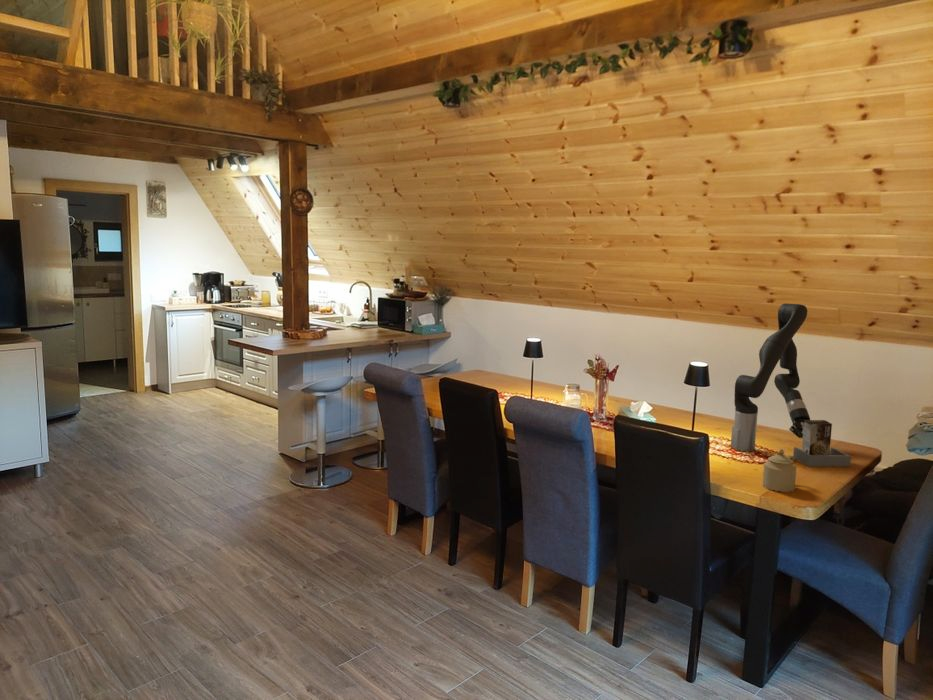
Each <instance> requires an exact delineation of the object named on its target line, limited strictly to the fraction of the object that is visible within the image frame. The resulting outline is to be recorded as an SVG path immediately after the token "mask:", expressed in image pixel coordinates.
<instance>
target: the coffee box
mask: <svg viewBox="0 0 933 700" xmlns="http://www.w3.org/2000/svg"><path fill="white" fill-rule="evenodd" d="M832 427H833V423H831V422H829V421H827V420H825V419H813V420H812V419H810V420H804V429H803V438H802V442H801V443H802V444H801V450H802V451H804V452H806V453H808V454H810V455H830V452H831V440H832V439H831V438H832V429H833V428H832Z"/></svg>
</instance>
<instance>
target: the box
mask: <svg viewBox="0 0 933 700" xmlns="http://www.w3.org/2000/svg"><path fill="white" fill-rule="evenodd" d="M792 456H793V459H795V460H797V461H798V460H799V461H798V462H800V463H801V464H803V463H804V465H805V466H807V467H809V466H850V467H851V461H852V459H851V458H852V457H851V455H850V454H847V453H845V452H843V451H841V450H839V449H837V448H835V447H831V446H830V454H829V455H810V454H808V453H806V452H804V451H802V448H799V447H797V446H796V447H795V446H794V447H793V454H792Z"/></svg>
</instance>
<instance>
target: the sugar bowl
mask: <svg viewBox="0 0 933 700" xmlns="http://www.w3.org/2000/svg"><path fill="white" fill-rule="evenodd" d="M777 453H778V454H774V455H771V456H769V457H768V458H767V459H768V461H766V462H764V464H763V471H762V487H764V488H765V487H766V488H765V489H767V488H768V489H767V490H769V489H771V490H770V491H772V490H775V491H774V492H777V491H781V492H780V493H791V492H790V491H792V492H794V491H795V488H796V487H795V486H796V480H797V467H796V466H795V465H794V462H795V461H794V459H795V458H793V455H792V454H786V455H784V454H785V451H784V449H782V448H781V449H779V450H778V452H777ZM793 490H794V491H793Z"/></svg>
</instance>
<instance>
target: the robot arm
mask: <svg viewBox="0 0 933 700" xmlns="http://www.w3.org/2000/svg"><path fill="white" fill-rule="evenodd" d="M807 317H808V308H807V306H805V304H801V303H800V304H799V303H782V304H781V305H779V307H778V311H777V324H778V330H777V331H776V332H774V333H772V334H770V336H768V337H767V338H766V339H765V341H764V342H763V344H762V345H761V347H760V349H759V352H758V358H759V363H760V366H759V367H760V368H759V371H758V372H757V374H756V376H751V375H745V374H740V375H739V376H738V377H737V378H736V380H735V383H734V399H733V400H734V407H735V409H734V410H735V412H734V422H733V423H734V424H733V426H731V440H730V447H731V448H732V447H733V448H734V449H733V448H732V449H733V450H735V449H736V450H742V451H741V452H745V451H751V452H754V451H755V450H756V438H757V436H756V435H757V425H758V415H759V414H758V413H759V407H758V405H756V404H755V403H754V402H753V401H752V400H751V399H750V398H752V399H758V398H759V397H761V396H762V395H763V393H764V391H765V389H766V387H767V384H768V382H769V380H770V377H771V376H772V374H773V372H774V369H775V368H776V366H777V364H778V363H779V367H780V368H782V369H784V370H788V372H789V373H778V374H776V375H775V377H774V381H773V382H774V385H775V388H776V389H777V390H778V391H779V393H780V395H781V396H782V397H783V399H784V400H785V404H786V408H787V411H788V414H789V417H790V420H791V423H792V425H791V426H790V427H789V428H788V430H789V431H790V432H791V433H792V434H794V435H795V436H796V437H798V438H799V439H803V429H804V420H811V417H810V414H809V411H808V409H807V406H806V403H805V401H804V400H803V397H802V395H801V392H800V391H799V390H797V388H798V387H799V385H800V381H801V380H800V376H799V371H798V366H797V363H798V362H797V359H798V350H797V346H796V344H795V342H794V340H793V338H794V336H795V335H796V333H797V332H798V330H800V328H801V327H802V325H804V323H805V322H806V318H807ZM736 450H735V451H736Z"/></svg>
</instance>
